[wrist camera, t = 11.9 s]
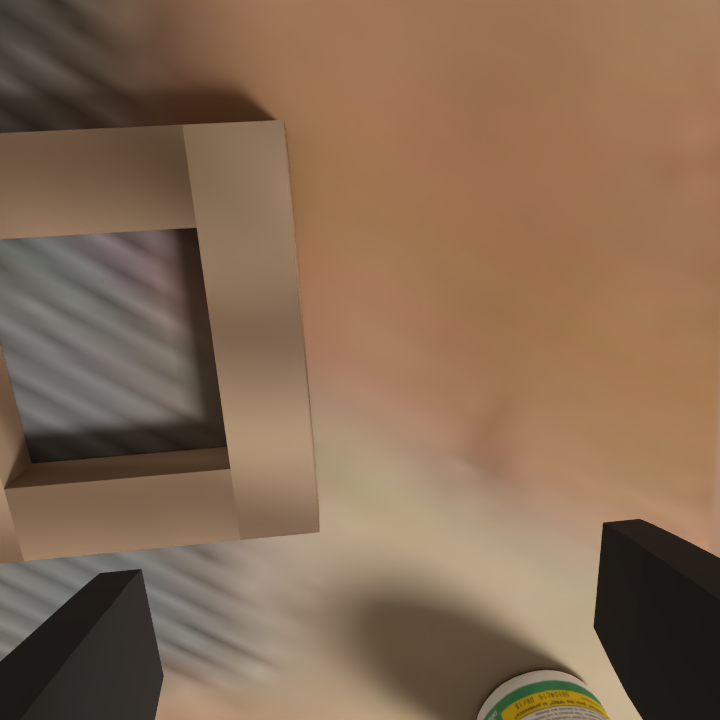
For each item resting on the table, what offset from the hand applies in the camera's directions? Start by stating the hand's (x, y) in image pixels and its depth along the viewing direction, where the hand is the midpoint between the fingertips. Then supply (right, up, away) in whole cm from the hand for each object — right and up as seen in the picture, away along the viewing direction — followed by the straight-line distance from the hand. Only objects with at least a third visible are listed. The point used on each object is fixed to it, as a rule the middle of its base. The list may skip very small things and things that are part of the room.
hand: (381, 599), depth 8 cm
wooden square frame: (-8, +4, +8) cm, 12 cm away
